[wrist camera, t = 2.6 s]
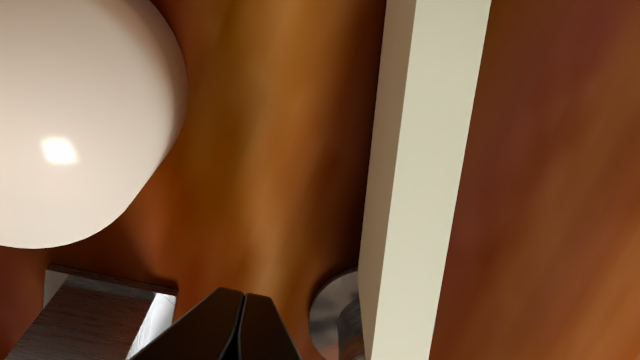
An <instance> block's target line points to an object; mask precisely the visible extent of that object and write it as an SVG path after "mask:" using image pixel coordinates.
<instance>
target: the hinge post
mask: <svg viewBox="0 0 640 360" xmlns="http://www.w3.org/2000/svg"><path fill="white" fill-rule="evenodd" d="M357 274H358V266H355V267H352V268H349V269H346V270H344V271H341V272H339V273H337V274H336V275H334V276H332V277H331V278H330V279H329V280H327V281H326V282H325V283H324V284H323V285H322V286H321V287H320V289H319V290H318V291H317V293H316V294H315V296H314V298H313V300H312V303H311V306H310V311H309V332H310V336H311V339H312V342H313V344H314V346H315V347H316V349H317V350H318V352H319V353H320V354H321V355H322V356H323V357H324V358H325V359H326V360H366V359H365V349H364V339H363V329H362V319H361V309H360V299H359V289H358V279H357ZM434 328H435V324H434ZM433 333H434V329H433ZM432 336H433V335H432Z"/></svg>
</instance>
